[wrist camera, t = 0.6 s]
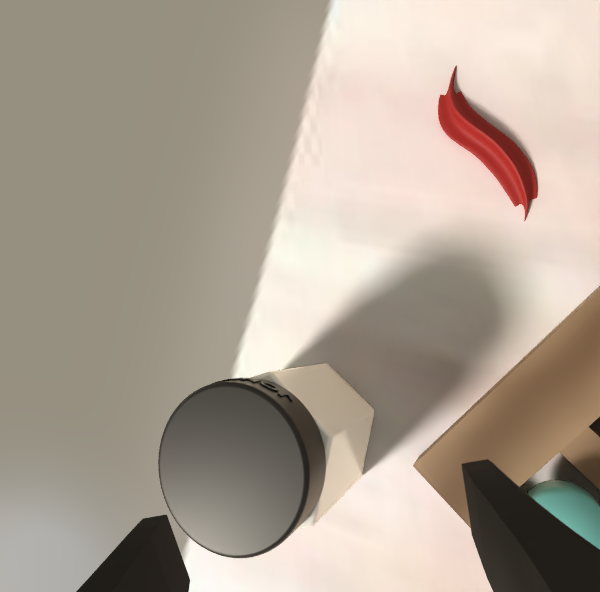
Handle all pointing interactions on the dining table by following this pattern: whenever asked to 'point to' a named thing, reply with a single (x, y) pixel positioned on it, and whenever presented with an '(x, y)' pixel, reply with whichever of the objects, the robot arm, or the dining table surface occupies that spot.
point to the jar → (262, 457)
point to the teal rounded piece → (570, 507)
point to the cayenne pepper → (488, 146)
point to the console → (529, 413)
